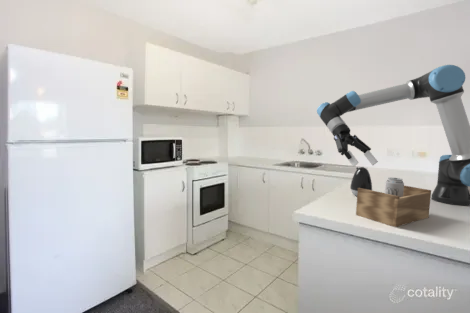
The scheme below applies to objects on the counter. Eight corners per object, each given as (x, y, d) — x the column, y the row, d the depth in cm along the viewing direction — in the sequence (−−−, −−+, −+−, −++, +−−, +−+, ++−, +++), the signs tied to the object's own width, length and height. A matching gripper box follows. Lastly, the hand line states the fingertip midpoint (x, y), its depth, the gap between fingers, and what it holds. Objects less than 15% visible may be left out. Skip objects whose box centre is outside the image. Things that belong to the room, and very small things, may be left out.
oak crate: (355, 214, 101) (357, 188, 100) (389, 207, 113) (391, 183, 112) (395, 227, 88) (397, 196, 87) (428, 217, 100) (431, 190, 99)
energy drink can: (381, 216, 100) (384, 178, 99) (384, 212, 105) (387, 176, 103) (399, 219, 96) (403, 180, 95) (402, 216, 101) (405, 178, 100)
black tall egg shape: (364, 193, 139) (366, 166, 137) (375, 198, 128) (378, 168, 127) (346, 193, 138) (347, 165, 137) (356, 198, 128) (358, 168, 126)
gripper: (350, 134, 130) (376, 168, 118) (315, 133, 117) (341, 170, 106) (360, 124, 125) (389, 157, 113) (325, 121, 112) (353, 159, 101)
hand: (365, 164), depth 109 cm, fingers open, 13 cm apart
